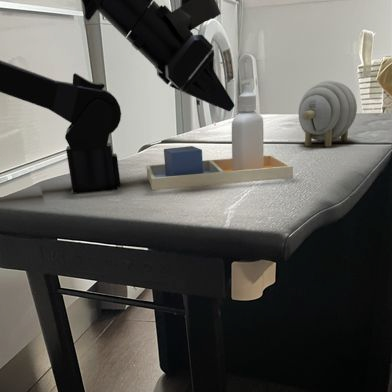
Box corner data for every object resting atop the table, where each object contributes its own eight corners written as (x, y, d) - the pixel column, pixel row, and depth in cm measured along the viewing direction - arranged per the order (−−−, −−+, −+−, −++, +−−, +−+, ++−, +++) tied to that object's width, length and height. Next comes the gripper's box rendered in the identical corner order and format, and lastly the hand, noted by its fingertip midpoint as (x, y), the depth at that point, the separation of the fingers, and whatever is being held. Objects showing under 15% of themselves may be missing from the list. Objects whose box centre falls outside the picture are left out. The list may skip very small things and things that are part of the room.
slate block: (174, 185, 77) (171, 152, 75) (166, 180, 81) (163, 149, 79) (203, 181, 78) (202, 149, 76) (194, 176, 82) (192, 145, 80)
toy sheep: (364, 138, 110) (369, 77, 105) (336, 151, 98) (340, 83, 93) (314, 137, 116) (317, 79, 110) (281, 150, 103) (282, 85, 98)
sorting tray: (152, 194, 76) (151, 178, 75) (147, 179, 85) (146, 165, 84) (292, 181, 78) (293, 166, 77) (272, 168, 88) (272, 154, 87)
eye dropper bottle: (225, 173, 83) (222, 85, 77) (257, 168, 85) (257, 82, 79) (237, 178, 79) (236, 86, 74) (271, 173, 81) (272, 83, 75)
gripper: (190, -49, 61) (284, 57, 67) (172, -26, 77) (249, 58, 83) (127, 36, 64) (223, 131, 70) (123, 42, 80) (201, 118, 86)
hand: (225, 106), depth 77 cm, fingers open, 9 cm apart
